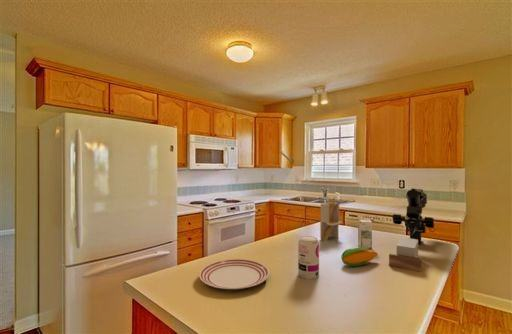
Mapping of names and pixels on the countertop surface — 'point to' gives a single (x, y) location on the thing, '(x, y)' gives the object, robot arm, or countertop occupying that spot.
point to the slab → (408, 247)
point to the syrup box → (365, 233)
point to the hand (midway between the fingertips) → (411, 234)
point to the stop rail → (405, 262)
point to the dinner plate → (234, 274)
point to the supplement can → (308, 257)
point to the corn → (358, 256)
